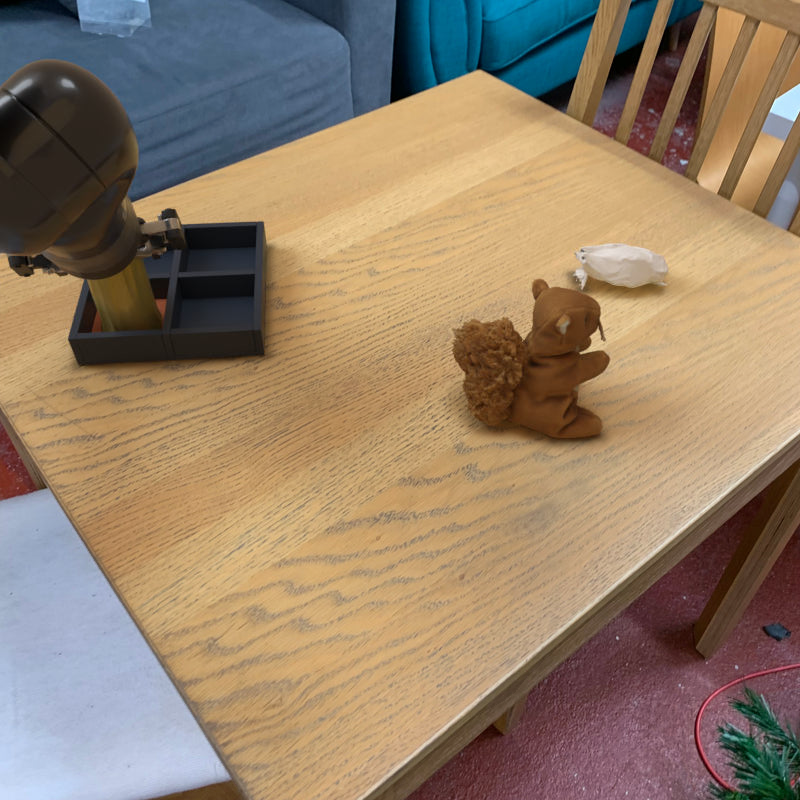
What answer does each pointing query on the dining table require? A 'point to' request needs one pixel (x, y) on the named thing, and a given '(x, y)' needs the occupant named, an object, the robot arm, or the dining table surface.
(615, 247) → the bird figurine
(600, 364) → the stuffed squirrel
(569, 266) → the dining table surface
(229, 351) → the grid
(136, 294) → the vase
